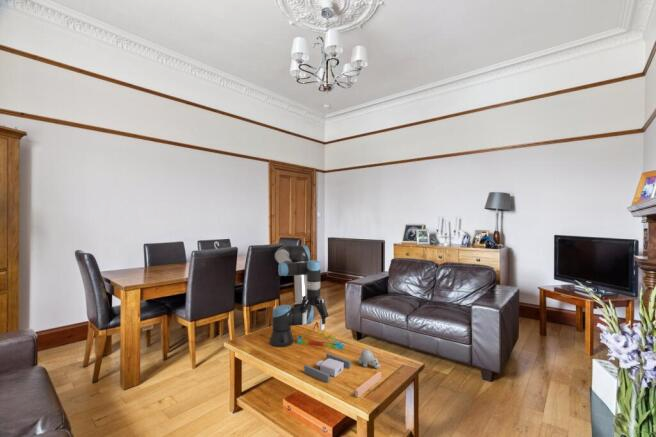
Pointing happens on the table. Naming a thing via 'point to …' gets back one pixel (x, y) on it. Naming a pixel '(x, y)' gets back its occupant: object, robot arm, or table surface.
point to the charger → (331, 366)
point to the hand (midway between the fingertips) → (313, 326)
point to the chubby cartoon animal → (368, 359)
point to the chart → (322, 344)
